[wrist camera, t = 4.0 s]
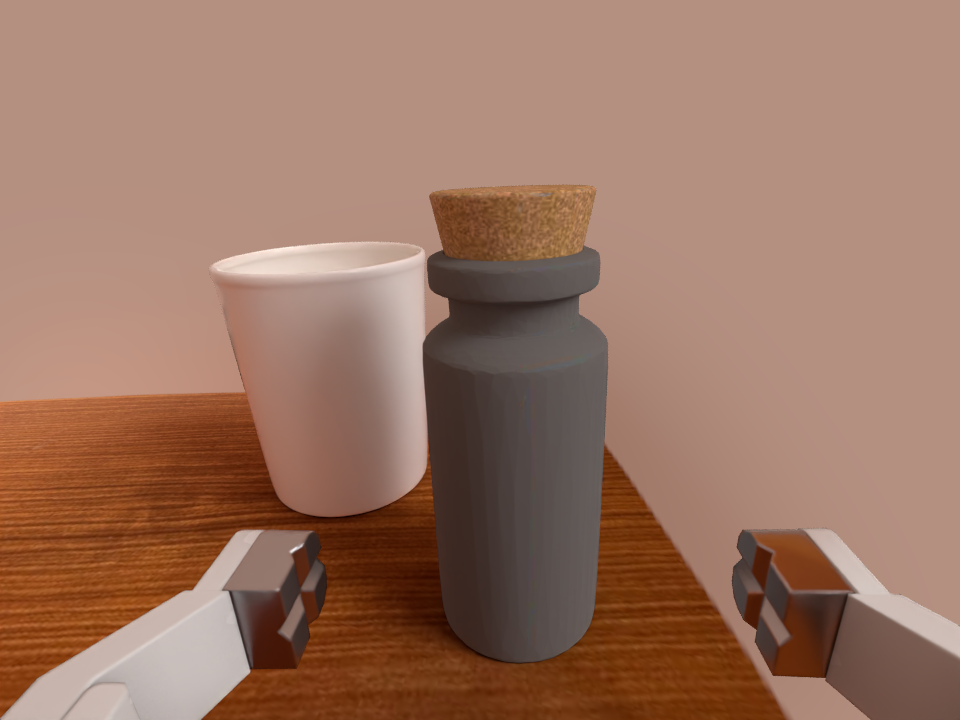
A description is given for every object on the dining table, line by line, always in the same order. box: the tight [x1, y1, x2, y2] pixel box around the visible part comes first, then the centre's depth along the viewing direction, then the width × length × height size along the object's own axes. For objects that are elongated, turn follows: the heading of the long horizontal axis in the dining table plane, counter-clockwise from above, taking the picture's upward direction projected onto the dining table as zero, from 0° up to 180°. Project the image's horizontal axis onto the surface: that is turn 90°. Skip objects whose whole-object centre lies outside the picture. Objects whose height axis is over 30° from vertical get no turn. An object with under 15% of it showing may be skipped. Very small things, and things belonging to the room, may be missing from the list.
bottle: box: [422, 185, 608, 663], centre depth 17 cm, size 6×6×15 cm
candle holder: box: [209, 242, 428, 517], centre depth 27 cm, size 10×10×12 cm
